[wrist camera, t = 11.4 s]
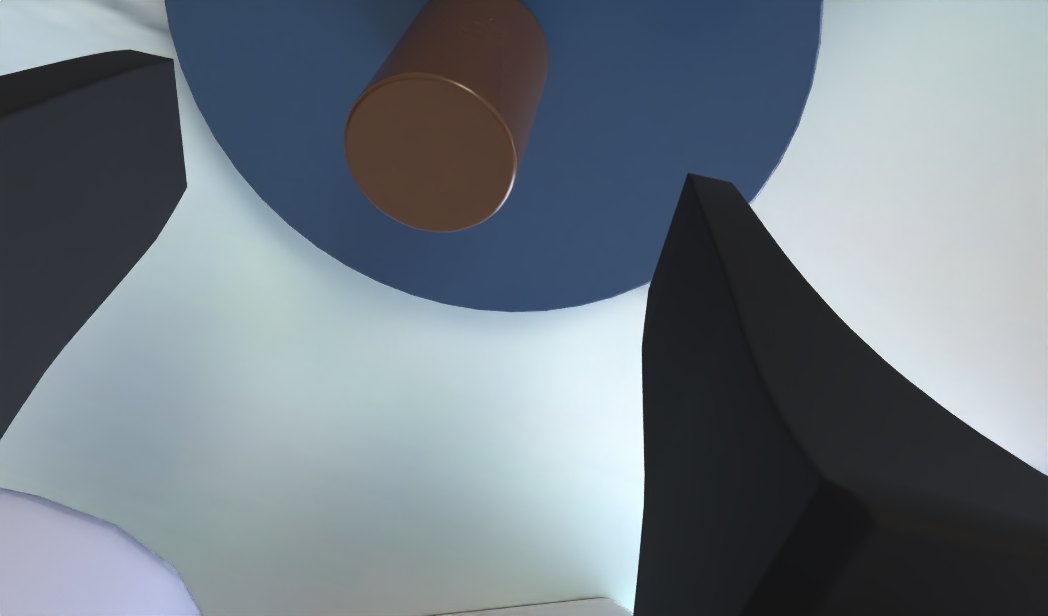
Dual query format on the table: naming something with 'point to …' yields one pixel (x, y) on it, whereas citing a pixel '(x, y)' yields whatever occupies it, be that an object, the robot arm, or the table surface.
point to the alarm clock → (558, 609)
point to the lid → (497, 128)
